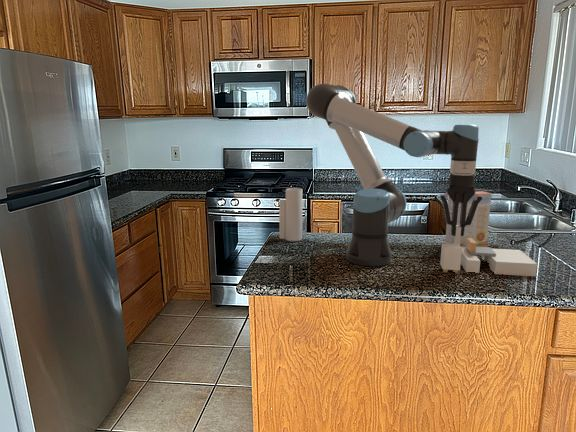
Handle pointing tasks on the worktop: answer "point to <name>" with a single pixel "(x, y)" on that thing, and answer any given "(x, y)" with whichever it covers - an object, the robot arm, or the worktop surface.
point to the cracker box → (479, 222)
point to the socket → (501, 262)
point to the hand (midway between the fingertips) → (456, 245)
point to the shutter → (478, 249)
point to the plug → (450, 257)
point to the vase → (291, 215)
